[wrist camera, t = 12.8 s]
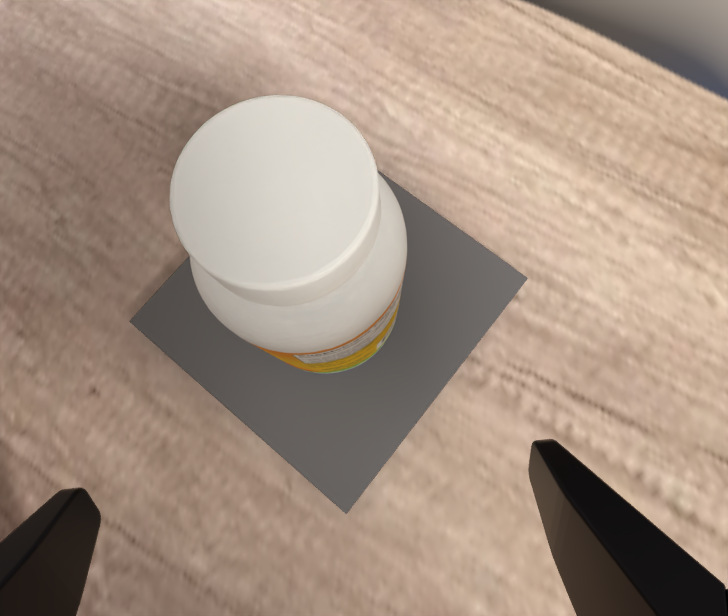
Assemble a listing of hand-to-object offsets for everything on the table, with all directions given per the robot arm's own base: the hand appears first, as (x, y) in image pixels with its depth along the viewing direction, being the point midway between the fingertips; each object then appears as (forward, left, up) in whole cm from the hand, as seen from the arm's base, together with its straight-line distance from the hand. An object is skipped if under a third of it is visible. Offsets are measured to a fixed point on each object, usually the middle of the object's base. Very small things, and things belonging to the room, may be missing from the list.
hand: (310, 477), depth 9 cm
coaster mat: (+4, +4, -8) cm, 10 cm away
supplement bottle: (+4, +4, -8) cm, 10 cm away
